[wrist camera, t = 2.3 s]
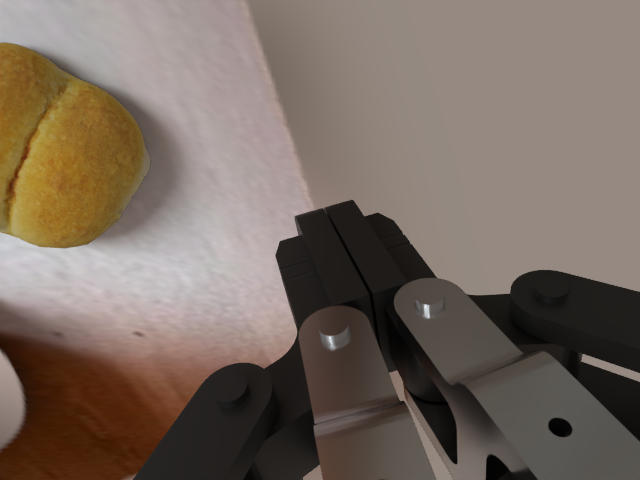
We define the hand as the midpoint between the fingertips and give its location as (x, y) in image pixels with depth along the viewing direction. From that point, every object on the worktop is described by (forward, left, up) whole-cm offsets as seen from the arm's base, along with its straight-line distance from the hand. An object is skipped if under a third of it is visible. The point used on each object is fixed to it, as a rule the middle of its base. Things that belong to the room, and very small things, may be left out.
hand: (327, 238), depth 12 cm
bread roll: (0, -10, -14) cm, 17 cm away
